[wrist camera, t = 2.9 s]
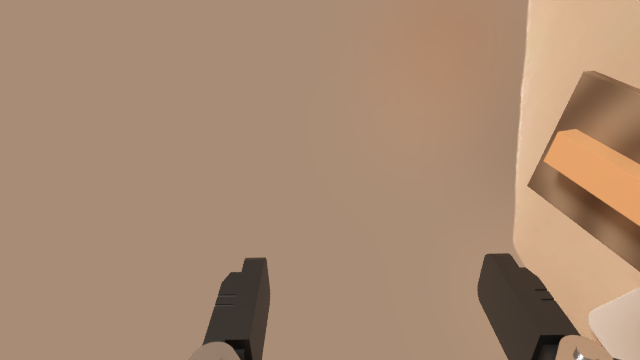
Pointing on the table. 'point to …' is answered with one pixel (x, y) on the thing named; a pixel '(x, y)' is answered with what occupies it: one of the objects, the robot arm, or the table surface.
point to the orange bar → (598, 170)
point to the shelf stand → (611, 130)
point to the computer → (619, 325)
